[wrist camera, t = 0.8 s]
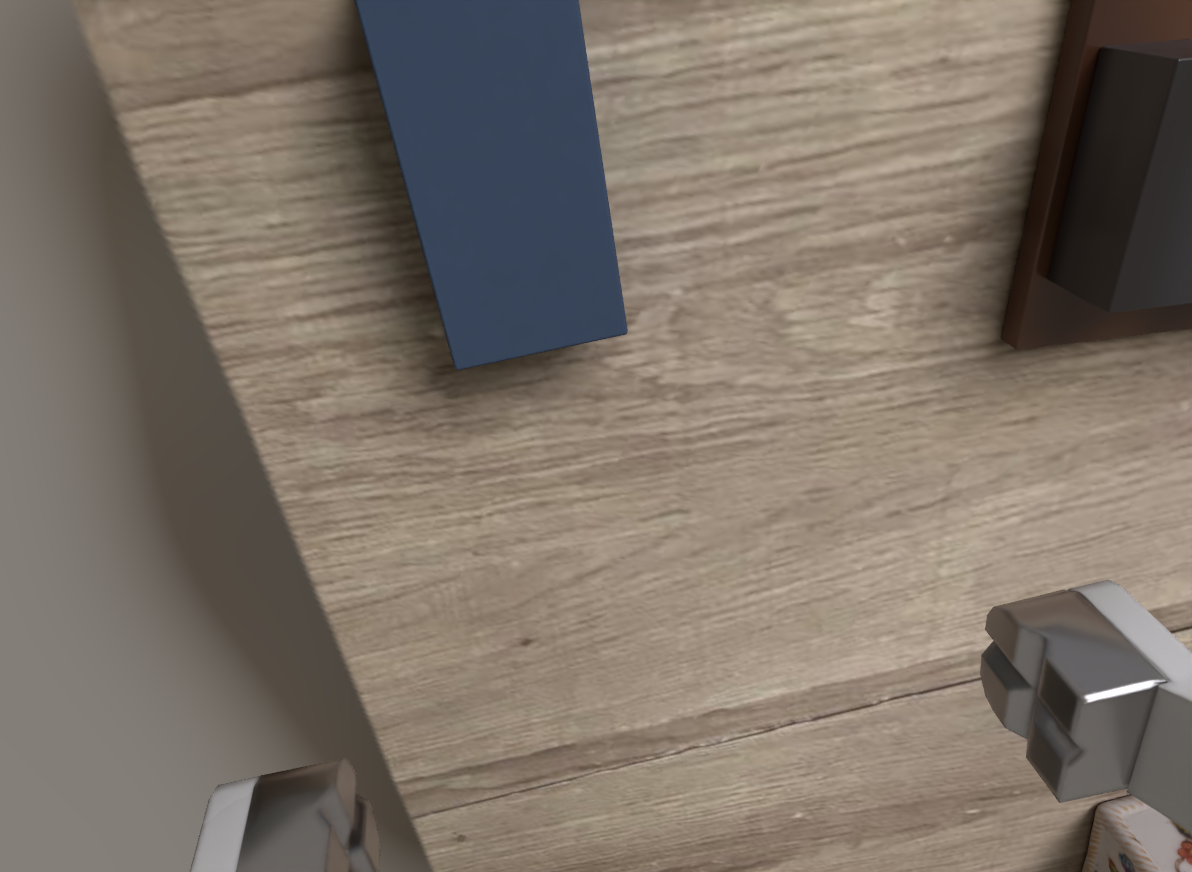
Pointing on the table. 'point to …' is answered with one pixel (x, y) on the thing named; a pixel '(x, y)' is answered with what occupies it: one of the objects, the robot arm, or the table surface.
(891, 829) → the table surface
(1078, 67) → the pad base
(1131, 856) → the decorative jar
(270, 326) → the table surface
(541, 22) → the loose pad
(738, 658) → the table surface
